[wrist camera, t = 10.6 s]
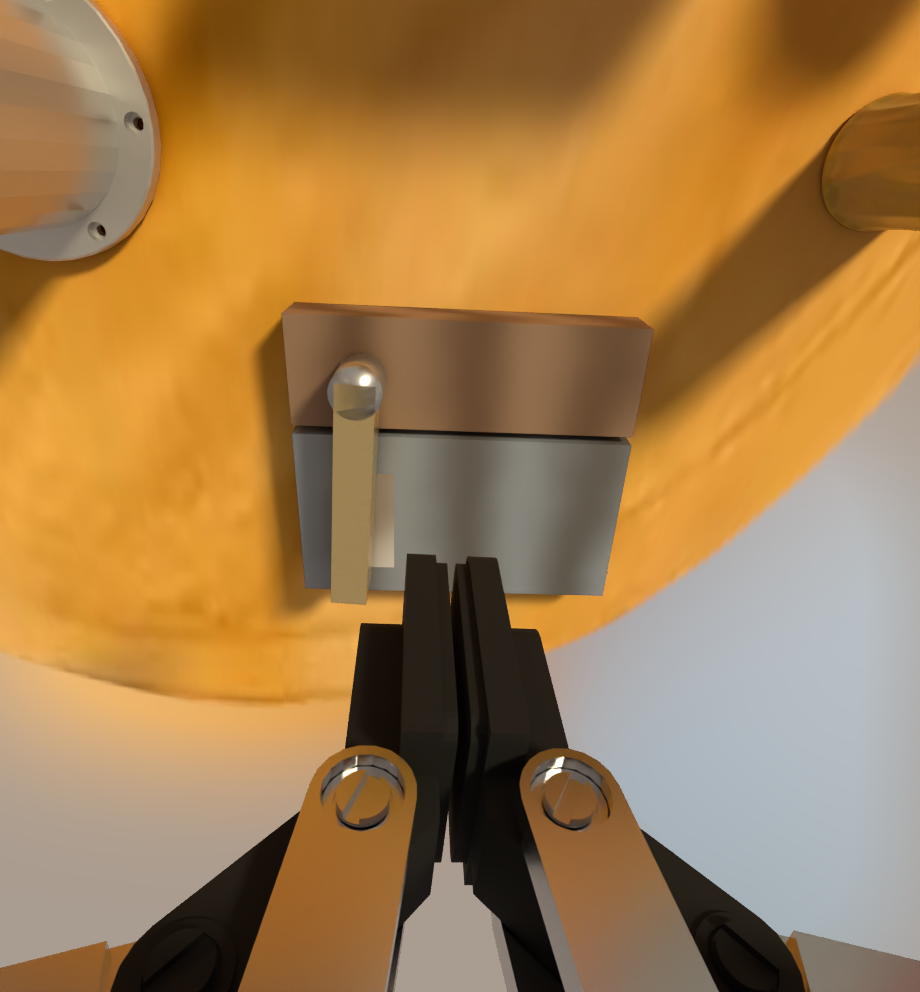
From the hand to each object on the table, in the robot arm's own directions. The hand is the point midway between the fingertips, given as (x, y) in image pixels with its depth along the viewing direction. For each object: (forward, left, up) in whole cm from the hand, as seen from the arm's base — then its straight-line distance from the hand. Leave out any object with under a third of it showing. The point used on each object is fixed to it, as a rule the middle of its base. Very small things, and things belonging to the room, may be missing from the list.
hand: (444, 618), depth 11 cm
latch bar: (-5, -8, -22) cm, 24 cm away
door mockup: (+1, -8, -26) cm, 27 cm away
